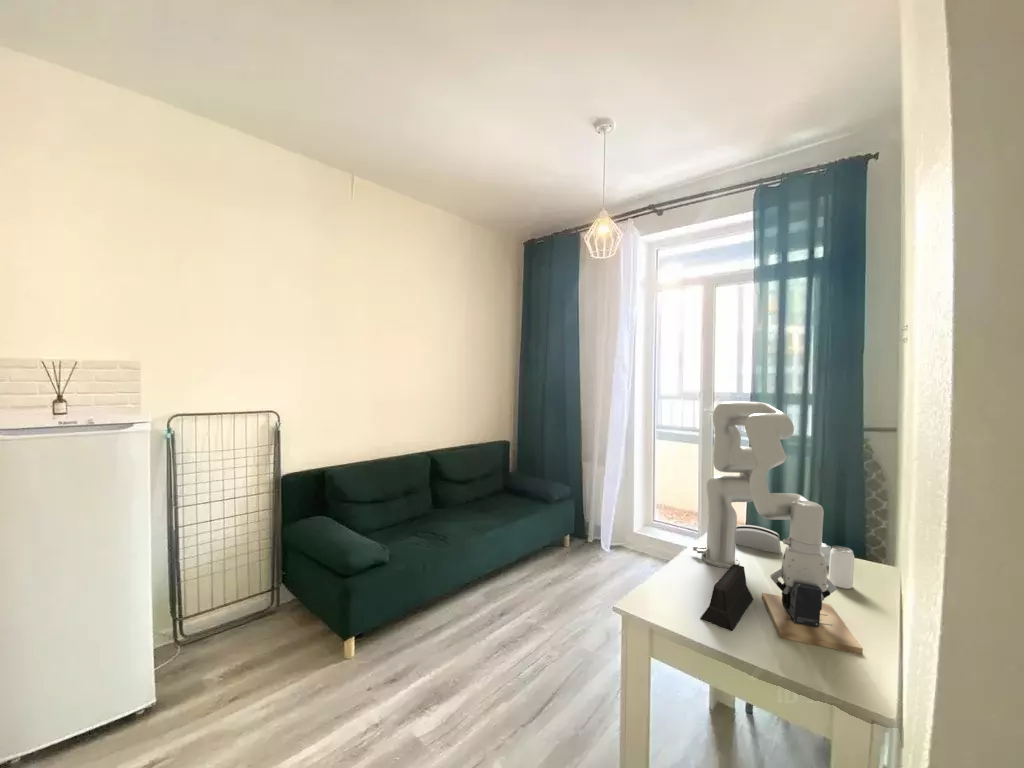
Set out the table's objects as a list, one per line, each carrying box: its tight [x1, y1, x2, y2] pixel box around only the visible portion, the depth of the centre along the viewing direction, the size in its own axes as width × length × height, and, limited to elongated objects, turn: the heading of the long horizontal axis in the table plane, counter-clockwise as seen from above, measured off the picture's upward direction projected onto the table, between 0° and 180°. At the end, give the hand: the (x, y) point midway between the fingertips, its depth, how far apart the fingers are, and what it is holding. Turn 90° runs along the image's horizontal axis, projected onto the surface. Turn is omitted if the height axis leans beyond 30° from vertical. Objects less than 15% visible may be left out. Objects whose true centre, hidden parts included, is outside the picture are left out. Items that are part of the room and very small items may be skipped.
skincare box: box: [821, 542, 832, 567], centre depth 162 cm, size 6×6×7 cm
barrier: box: [700, 564, 754, 632], centre depth 128 cm, size 24×9×10 cm, turn 139°
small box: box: [782, 582, 822, 627], centre depth 123 cm, size 11×6×10 cm, turn 164°
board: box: [761, 592, 864, 655], centre depth 122 cm, size 18×22×2 cm
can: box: [828, 545, 855, 590], centre depth 146 cm, size 6×6×12 cm
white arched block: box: [736, 524, 782, 555], centre depth 175 cm, size 17×5×10 cm, turn 58°
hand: (801, 608), depth 123 cm, fingers closed on small box, 6 cm apart
